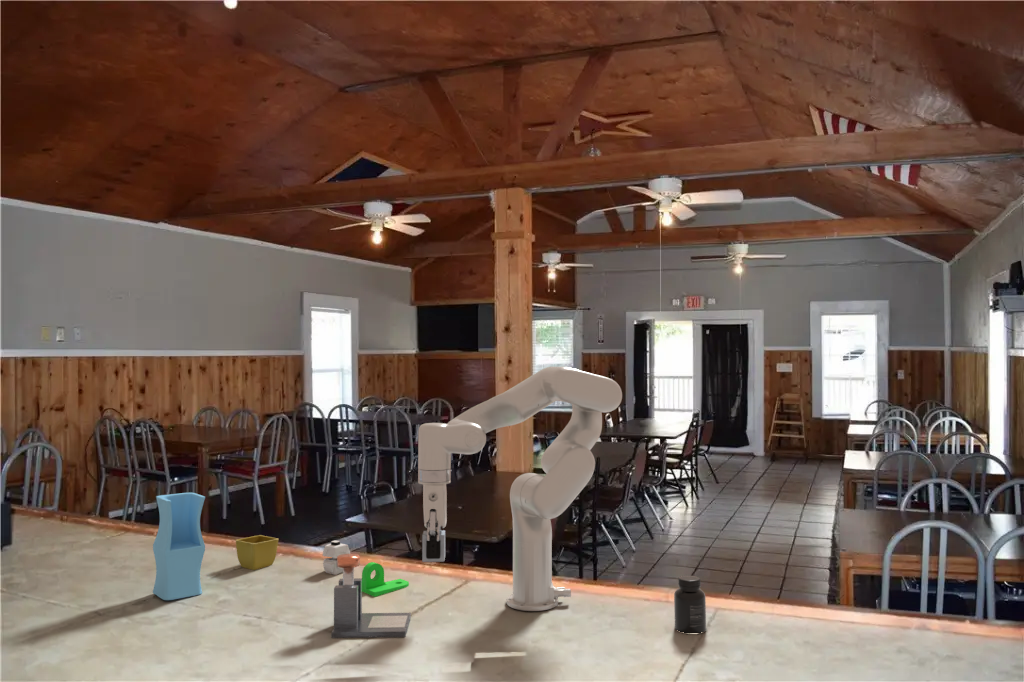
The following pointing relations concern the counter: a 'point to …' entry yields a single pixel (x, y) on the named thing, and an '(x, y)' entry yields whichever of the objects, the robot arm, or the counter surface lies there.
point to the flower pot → (256, 551)
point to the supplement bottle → (690, 605)
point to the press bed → (363, 616)
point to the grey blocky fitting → (334, 556)
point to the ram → (348, 566)
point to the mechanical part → (379, 581)
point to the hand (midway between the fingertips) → (434, 554)
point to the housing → (442, 547)
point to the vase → (178, 546)
